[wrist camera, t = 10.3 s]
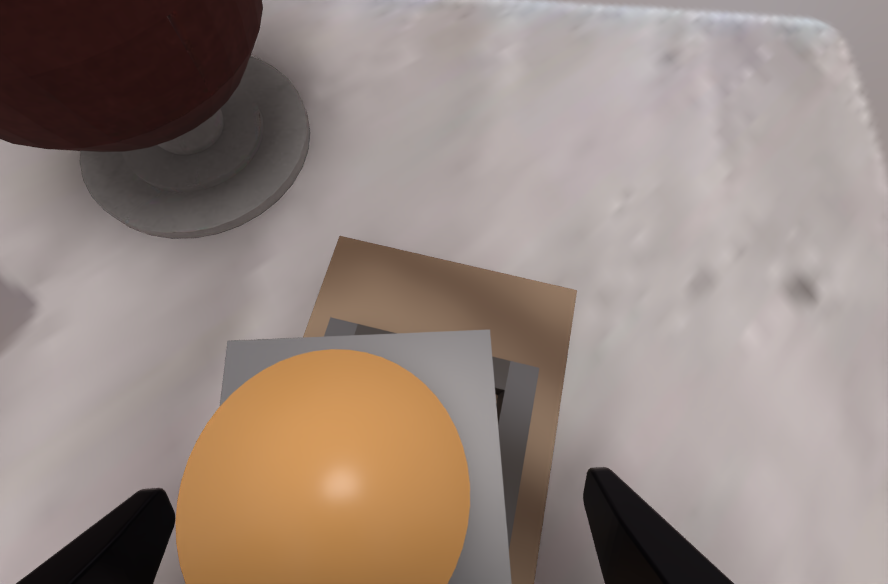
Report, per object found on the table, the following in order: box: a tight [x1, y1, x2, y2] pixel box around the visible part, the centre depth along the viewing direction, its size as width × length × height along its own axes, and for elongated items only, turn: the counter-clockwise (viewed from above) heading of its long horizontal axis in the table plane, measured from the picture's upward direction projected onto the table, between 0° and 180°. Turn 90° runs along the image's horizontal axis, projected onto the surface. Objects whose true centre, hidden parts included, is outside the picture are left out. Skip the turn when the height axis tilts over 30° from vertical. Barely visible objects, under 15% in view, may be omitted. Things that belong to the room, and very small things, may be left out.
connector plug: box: [176, 330, 512, 584], centre depth 11 cm, size 4×4×14 cm
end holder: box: [303, 236, 577, 584], centre depth 17 cm, size 18×12×3 cm, turn 166°
